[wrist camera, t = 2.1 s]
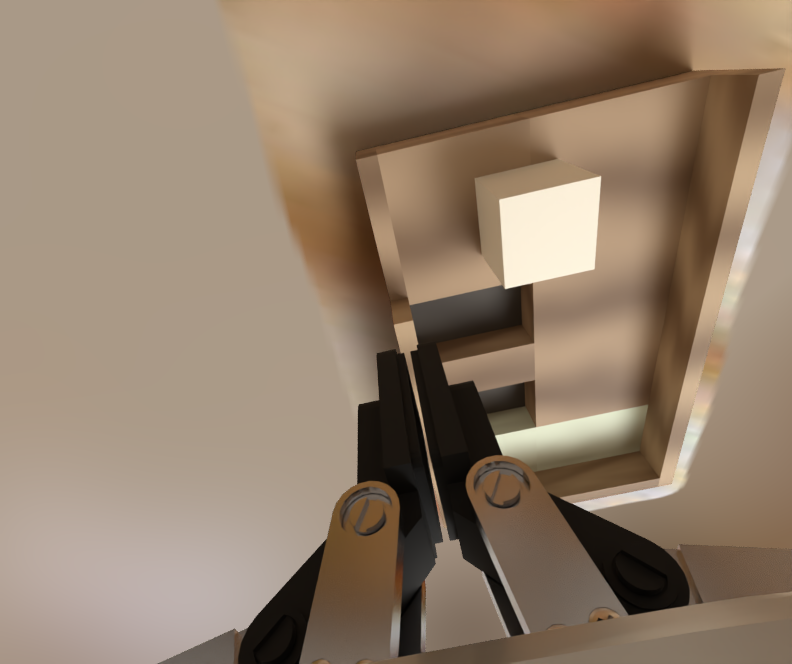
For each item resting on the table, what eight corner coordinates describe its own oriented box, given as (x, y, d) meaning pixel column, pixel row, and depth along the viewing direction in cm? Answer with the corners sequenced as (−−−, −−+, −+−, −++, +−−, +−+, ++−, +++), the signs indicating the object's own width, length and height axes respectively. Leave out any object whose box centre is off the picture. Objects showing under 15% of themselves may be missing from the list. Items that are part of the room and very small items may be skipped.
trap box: (356, 151, 20) (355, 170, 16) (693, 70, 20) (785, 68, 15) (433, 473, 34) (444, 528, 30) (632, 433, 34) (671, 483, 29)
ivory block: (474, 178, 19) (499, 199, 16) (558, 158, 19) (601, 176, 15) (481, 255, 21) (505, 288, 18) (557, 238, 21) (594, 269, 18)
